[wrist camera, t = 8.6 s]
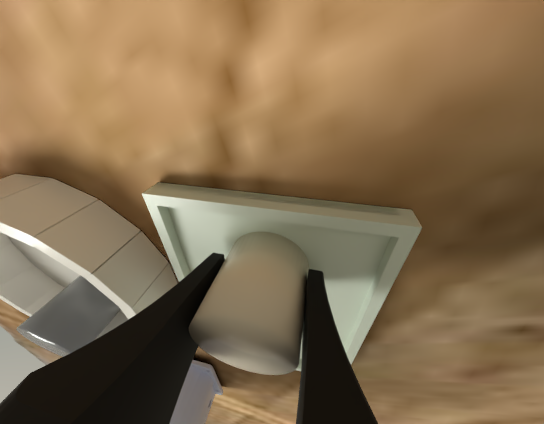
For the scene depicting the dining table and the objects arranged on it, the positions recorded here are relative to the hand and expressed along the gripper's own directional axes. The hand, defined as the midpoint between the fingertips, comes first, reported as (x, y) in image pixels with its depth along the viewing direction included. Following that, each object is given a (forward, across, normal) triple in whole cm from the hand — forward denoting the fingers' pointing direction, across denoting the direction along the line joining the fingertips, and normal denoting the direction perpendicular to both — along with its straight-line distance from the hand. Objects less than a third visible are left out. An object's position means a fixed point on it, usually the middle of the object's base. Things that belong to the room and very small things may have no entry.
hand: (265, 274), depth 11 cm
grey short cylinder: (+1, +15, +7) cm, 17 cm away
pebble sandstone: (+1, 0, 0) cm, 1 cm away
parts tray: (+1, 0, +4) cm, 4 cm away
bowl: (+1, +15, +4) cm, 16 cm away
